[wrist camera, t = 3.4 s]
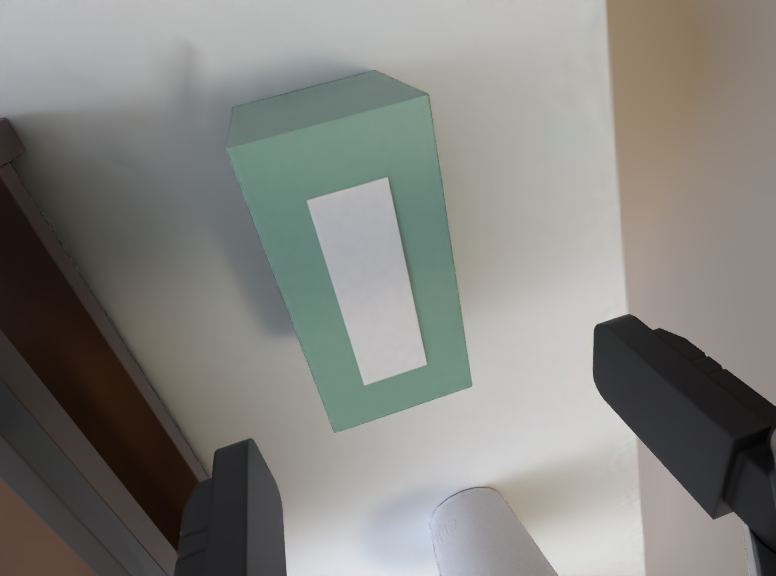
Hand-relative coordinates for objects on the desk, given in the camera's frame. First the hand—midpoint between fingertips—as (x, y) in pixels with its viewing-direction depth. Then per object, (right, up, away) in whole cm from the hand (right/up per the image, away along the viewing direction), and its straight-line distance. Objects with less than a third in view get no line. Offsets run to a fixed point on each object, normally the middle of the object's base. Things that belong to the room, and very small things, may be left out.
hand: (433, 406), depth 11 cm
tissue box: (-3, +6, +10) cm, 12 cm away
